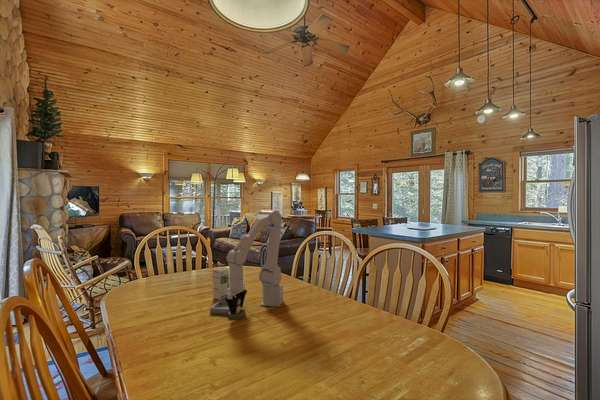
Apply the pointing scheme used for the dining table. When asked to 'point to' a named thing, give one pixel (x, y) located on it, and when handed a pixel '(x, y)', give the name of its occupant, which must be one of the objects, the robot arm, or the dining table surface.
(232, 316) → the fuse socket
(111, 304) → the dining table surface
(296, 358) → the dining table surface
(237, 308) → the cylinder
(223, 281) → the syrup box
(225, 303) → the parts tray
